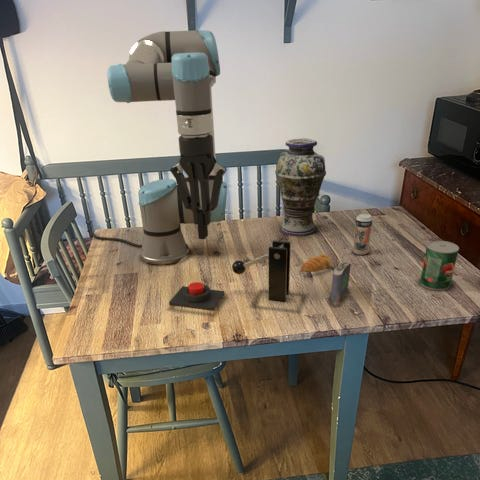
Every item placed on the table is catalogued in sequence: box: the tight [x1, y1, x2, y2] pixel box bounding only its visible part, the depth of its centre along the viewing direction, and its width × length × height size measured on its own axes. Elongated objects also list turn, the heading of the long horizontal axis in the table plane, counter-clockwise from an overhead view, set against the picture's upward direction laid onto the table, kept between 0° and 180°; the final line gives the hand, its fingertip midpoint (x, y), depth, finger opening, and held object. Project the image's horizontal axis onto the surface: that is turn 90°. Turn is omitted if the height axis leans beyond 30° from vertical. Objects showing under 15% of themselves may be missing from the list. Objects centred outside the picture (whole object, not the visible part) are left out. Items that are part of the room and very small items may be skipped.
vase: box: [274, 138, 327, 237], centre depth 157 cm, size 17×17×30 cm
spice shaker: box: [352, 213, 373, 256], centre depth 143 cm, size 5×5×12 cm
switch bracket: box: [268, 240, 292, 303], centre depth 118 cm, size 12×9×16 cm
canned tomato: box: [419, 240, 460, 291], centre depth 124 cm, size 8×8×11 cm
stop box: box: [168, 284, 226, 312], centre depth 121 cm, size 12×9×4 cm
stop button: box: [187, 281, 205, 295], centre depth 119 cm, size 4×4×2 cm
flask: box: [330, 259, 352, 303], centre depth 119 cm, size 9×3×11 cm, turn 151°
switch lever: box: [231, 244, 285, 275], centre depth 117 cm, size 15×4×4 cm, turn 74°
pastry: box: [300, 254, 333, 273], centre depth 136 cm, size 9×7×4 cm
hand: (203, 237), depth 113 cm, fingers closed
